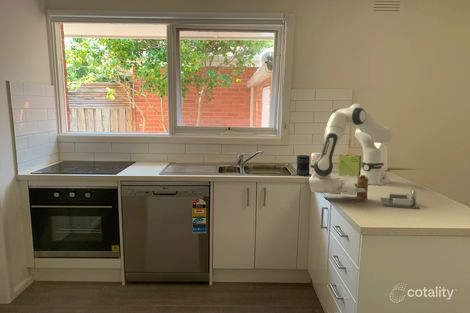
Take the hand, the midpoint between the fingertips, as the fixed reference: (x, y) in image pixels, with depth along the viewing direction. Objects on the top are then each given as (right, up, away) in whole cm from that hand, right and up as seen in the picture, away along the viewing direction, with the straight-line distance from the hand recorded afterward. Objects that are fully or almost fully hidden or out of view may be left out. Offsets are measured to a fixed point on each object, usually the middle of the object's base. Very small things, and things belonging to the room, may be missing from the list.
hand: (363, 188), depth 174 cm
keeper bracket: (+17, -8, -5) cm, 19 cm away
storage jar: (-18, +3, +71) cm, 74 cm away
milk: (+48, +6, +92) cm, 104 cm away
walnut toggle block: (-1, -7, +1) cm, 7 cm away
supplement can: (-4, +5, +86) cm, 87 cm away
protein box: (+18, +3, +71) cm, 73 cm away
